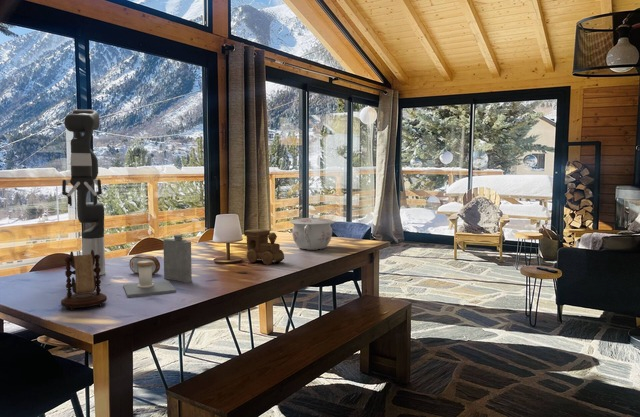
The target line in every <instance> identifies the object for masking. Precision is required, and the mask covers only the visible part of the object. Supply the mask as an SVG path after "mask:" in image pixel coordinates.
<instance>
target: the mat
mask: <svg viewBox="0 0 640 417" xmlns="http://www.w3.org/2000/svg"><path fill="white" fill-rule="evenodd" d="M152 283H153V284H154V286H153V287H150V288H139V287H138V284H139V282H137V283H135V282H134V283H126V284H123V285H122V286H123V290H124V292H125V294H126V298H135V297H144V296H145V297H146V296H153V295H154V296H155V295H163V294H171V293H176V292H177V290H176V288H175V287H174V286H173V284H172V283H171V282H170V280H169V279H166V280H157V281H156V280H155V281H152Z"/></svg>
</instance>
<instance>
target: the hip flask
mask: <svg viewBox="0 0 640 417" xmlns="http://www.w3.org/2000/svg"><path fill="white" fill-rule="evenodd" d="M162 241H163V243H162V244H163V279H164V280H165V279H166V280H173V281H179V282H183V283H185V284H186V283H192V281H193V280H192V278H193V277H192V272H193V271H192V241H190V240H188V239H183V234H174V235H173V238H163V240H162Z"/></svg>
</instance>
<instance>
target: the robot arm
mask: <svg viewBox="0 0 640 417" xmlns="http://www.w3.org/2000/svg"><path fill="white" fill-rule="evenodd" d="M63 122H64V127H65V128H66V130H67V131H69V132H71V133H73V139H71V140H70V177H71V178H70V179H62V186H61V194H62V195H63V196H66V197H67V205H69V207H72V206H73V200H72V195H73V193H74V192H75V191H77V192H76V193H77V196H76V197H77V200H76V204H77V205H76V208H77V209H76V212H77V219H78V221H79V223H81V224H91V223H92V224H94V225H93V226H91V227H89V228H87V229H85V230H83V231H82V232H81V244H82V248H81V250H82V255H88V254H91V250H93V251H94V254H95V255H96V254H98V255H100V259H98V260H100V261H99V264H100V266H99V267H100V269H101V271H100V273H99V275H100V276H102V275H105V274H106V257H105V256H106V253H105V252H106V249H105V248H106V246H105V207H104V204H103V203H102V202H99V201H98V196H99V195H101V194H102V193H103V191H102V181H101V179H99V178H98V175H99V160H98V157H97V155H96V154H95V152H94V151H93V150H92V149H91V139H92V134H93V131H95V130H96V131H97V130H98V129H99V127H100V122H101V120H100V115H99V113H98V111H96V110H94V109H74V110H72V113H68V114H67V115H65V118H64V121H63ZM82 133H84V134H82ZM97 178H98V179H97ZM69 183H70V184H71V186H72V188H71V189H70V190H69V191H68V192H67V186H68V185H69ZM94 184H95V185H96V186H97V191H95V190H94V188H93V187H92V186H93V185H94ZM89 192H90V193H91V194H92V196H93V198H92V199H93V200H92V202H87V196H88V193H89ZM95 260H96V259H95ZM95 263H96V261H95ZM95 267H96V266H95V264H94V265H93V268H95ZM94 275H95V277H96V272H94Z"/></svg>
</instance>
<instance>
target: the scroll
mask: <svg viewBox="0 0 640 417" xmlns="http://www.w3.org/2000/svg"><path fill="white" fill-rule="evenodd" d="M69 253H70V254H69V256H67V257H65V259H64V261H65V265H66V266H65V272H64V274H65V276H66V281H65V282H66V285H65V287H66V291H67V292H66V296H65V297H64V298H62V299H61V300H60V305H61V306H62V307H65V308H69V309H70V311H71V312H74V310H75V308H85V307H92V306H97V305H99V306H100V307H103V306H104V303H105V302H106V301H108V298H107V295H106V294H104V293H102V291H101V283H102V281H101V280H100V279H101V275H99V273H100V271H101V269H100V267H99V266H100V264H99V261H100V260H98V259H100V255H98V254H96V255H95V254H94V251H93V250H91V254H88V255H83V254H79V255H74V252H73V250H72V251H70V252H69ZM95 259H96V260H95ZM95 261H96V263H95ZM94 264H95V266H96V267H95V268H93V265H94ZM71 268H73V269H74V270H73V271H72V270H71ZM94 272H96V276H95V275H94ZM73 275H74V276H73ZM72 276H73V277H72ZM71 277H72V278H71Z"/></svg>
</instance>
